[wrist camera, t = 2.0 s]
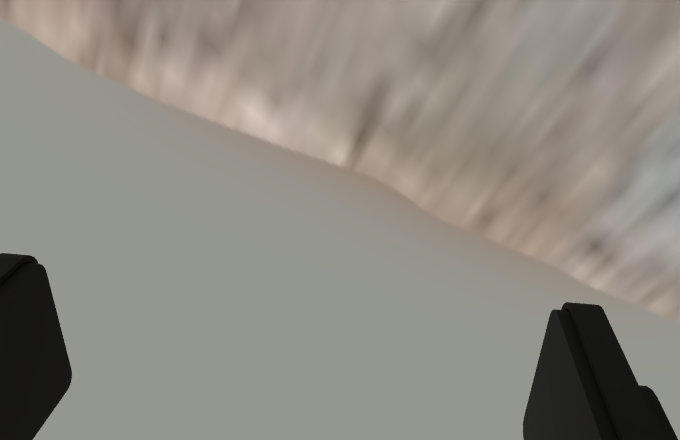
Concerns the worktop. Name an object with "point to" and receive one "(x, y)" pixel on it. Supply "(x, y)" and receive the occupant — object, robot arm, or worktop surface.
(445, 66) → the worktop surface
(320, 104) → the worktop surface
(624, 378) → the robot arm
